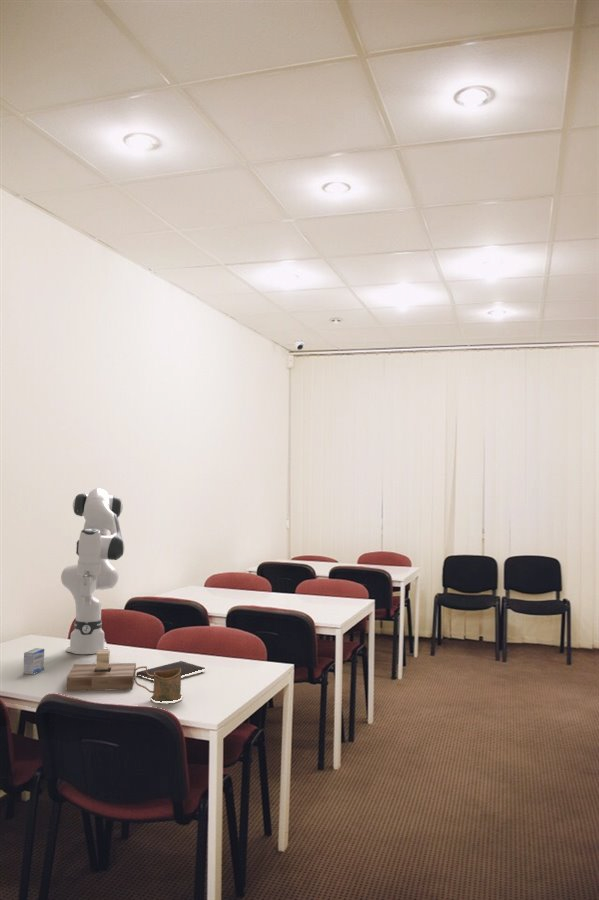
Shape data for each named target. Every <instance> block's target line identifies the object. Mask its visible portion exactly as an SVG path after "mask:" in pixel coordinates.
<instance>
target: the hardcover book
mask: <svg viewBox="0 0 599 900" xmlns="http://www.w3.org/2000/svg"><path fill="white" fill-rule="evenodd" d="M179 668H181V676H182V675H185V674H189V673H192V672H195V671H198V670H202V669H205V668H206V667H203V666H199V665H197V664H194V663H190V662H186V661H182V660H179V661H175V662H172V663H168V664H164V665H160V666H157V667H152V668H147V672H148V674H150V675H154V672H155V671H168V670H173V669H179ZM205 670H206V669H205ZM136 675H141V676H144V677H147V678H151V679H154V677H151V676H148V675H147V673H146V669H144V670H140V671H137V672H136V673H135V676H136Z"/></svg>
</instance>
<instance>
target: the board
mask: <svg viewBox="0 0 599 900" xmlns="http://www.w3.org/2000/svg"><path fill="white" fill-rule="evenodd" d="M136 665H137V663H136V662H123V663H122V662H121V663H119V662H117V663H109V670H108V672H96V663H83V664H82V663H77V664H76V663H75V664H73V666H72V668H71V669H70V671H69V673H68V675H67V676H66V689H65V690H66V692H76V691H77V692H79V691H80V692H81V690H86V691H106V690H105V689H121V690H133V689H134V684H135V680H134V671H135V669H136V668H137V666H136ZM135 674H137V672H135ZM132 688H133V689H132Z"/></svg>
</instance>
